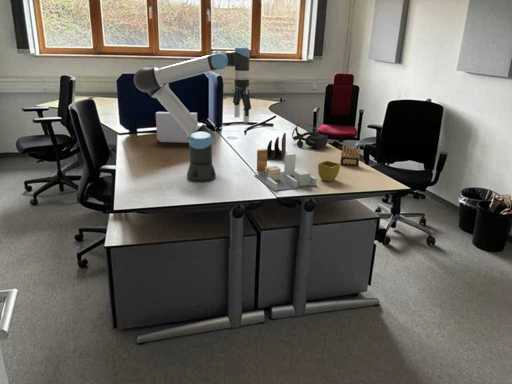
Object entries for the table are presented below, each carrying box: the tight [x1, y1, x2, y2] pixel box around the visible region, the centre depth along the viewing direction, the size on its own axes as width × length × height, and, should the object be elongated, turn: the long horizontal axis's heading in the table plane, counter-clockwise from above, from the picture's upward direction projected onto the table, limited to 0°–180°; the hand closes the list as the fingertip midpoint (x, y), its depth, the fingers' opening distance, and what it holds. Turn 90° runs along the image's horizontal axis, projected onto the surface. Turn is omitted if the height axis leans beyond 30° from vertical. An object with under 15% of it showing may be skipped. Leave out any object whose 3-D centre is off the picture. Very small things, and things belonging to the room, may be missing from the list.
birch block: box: [256, 148, 281, 181], centre depth 226 cm, size 18×6×12 cm, turn 23°
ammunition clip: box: [339, 145, 361, 168], centre depth 248 cm, size 11×2×12 cm, turn 78°
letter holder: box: [266, 132, 287, 162], centre depth 264 cm, size 10×20×14 cm, turn 171°
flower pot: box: [317, 160, 342, 182], centre depth 224 cm, size 9×9×9 cm
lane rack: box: [254, 171, 318, 192], centre depth 222 cm, size 25×24×4 cm
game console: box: [155, 111, 198, 144], centre depth 291 cm, size 6×27×20 cm, turn 89°
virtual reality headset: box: [291, 122, 329, 150], centre depth 290 cm, size 19×24×15 cm
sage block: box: [283, 152, 312, 186], centre depth 220 cm, size 18×6×12 cm, turn 23°
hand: (241, 119), depth 226 cm, fingers open, 13 cm apart
